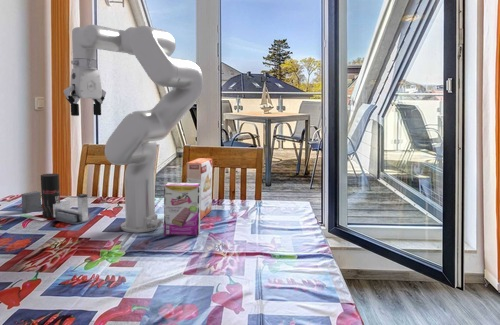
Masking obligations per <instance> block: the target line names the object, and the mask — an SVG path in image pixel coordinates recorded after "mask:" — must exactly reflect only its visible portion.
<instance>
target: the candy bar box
mask: <svg viewBox="0 0 500 325" xmlns="http://www.w3.org/2000/svg"><path fill="white" fill-rule="evenodd" d="M163 190H164V193H163V196H164V198H163V201H164V202H163V203H164V204H163V208H164V209H163V216H164V217H163V235H164V236H180V235H186V237H187V236H190V237H193V235H200V233H201V220H200V197H201V184H200V183H187V182H166V183H165V184H164V185H163Z"/></svg>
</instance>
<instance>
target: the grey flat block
mask: <svg viewBox="0 0 500 325" xmlns="http://www.w3.org/2000/svg"><path fill="white" fill-rule="evenodd" d="M20 195H21V196H20V197H21V211H22V213H23V214H30V213H34V212H39V211H42V193H41V191H38V190H35V191H29V192H25V193H21V194H20Z"/></svg>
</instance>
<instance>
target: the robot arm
mask: <svg viewBox="0 0 500 325" xmlns="http://www.w3.org/2000/svg"><path fill="white" fill-rule="evenodd" d="M71 43H72V44H71V45H72V47H71V48H72V60H70V63H71V65H72V67H73V68H71V74H70V86H68V87H67V88H65V89H63V94H64V96H65V99H66V100H67V101H68V104H70V115H71V116H72V117H73V116H74V117H79V116H80V105H79V103H78V102H79V101H80V99H91V100H92V101H93V109H92V110H93V115H94V116H101V115H102V104H103V101H105V97H106V94H107V92H106V91H105V90H104V89H102V81H101V74H100V70H98V69H97V50H102V51H107V52H108V51H109V52H115V53H122V54H128V55H130V56H134V57H135V58H136V59H137V62H139V64H140V65H141V67H142V69H143V70H144V72H145V73H146V75H147V77H149V79H150V80H151V81H152V82H153V83H154V84H155V85H157V86H158V87H160V86H161V87H162V88H163V87H165V88H172V89H171V90H169V91H168V92H167V93H165V95H163V96H162V97H161V98H160V100H159V101H158V102H157V103H156V104H155V106H154V107H152V108H151V109H148V110H136V111H132V112H130V113H128V114H127V115H126V116H124V117H123V119H122V120H121V122H120V123H118V125H117V126H116V128H115V129H114V131H113V132H112V133H111V135H110V136H109V137H108V139H107V141H106V143H105V145H104V146H105V147H104V156H105V158H106V159H107V161H108V163H110V164H112V165H114V166H126V168H125V172H124V204H125V206H124V207H125V212H124V213H125V221H124V222H122V223H121V224H120V229H121V230H122V231H124V232H126V233H133V234H134V233H135V234H136V233H137V234H139V233H148V232H152V231H155V230H158V229H159V228H160V227H162V224H164V219H159V218H158V214H157V213H156V210H155V209H156V207H155V206H156V205H155V204H156V203H155V197H156V196H155V195H156V193H155V192H156V190H155V180H156V179H155V169H156V168H155V166H156V160H157V154H158V144H157V141H161V140H164V139H166V137H167V136H168V135H169V134H171V132H172V131H173V130H174V128H175V127H176V126H177V125H178V124H179V123H180V122H181V120H182V119H183V117H184V116H185V115H186V114H187V113H188V112H189V110H190V109H192V107H194V105H195V104H196V102H197V101H198V99H200V97H201V95H202V92H203V87H204V76H203V72H202V70H201V68H200V66H199V65H198V64H196V63H195V62H194V61H191V60H188V59H184V58H178V57H172V55H173V54H174V53H175V50H176V47H177V46H176V41H175V38H174V37H173V35H172V34H171V33H169V32H168V31H166V30H163V29H162V28H161V29H159V28H157V27H152V26H148V25H147V26H146V25H140V26H137V27H136V26H135V27H133V26H131V27H128V28H126V29H124V30H122V29H117V28H111V27H108V26H101V25H98V24H88V25H86V26H85V25H84V27H83V26H82V27H81V26H79V27H78V26H77V27H73V29H72V30H71Z"/></svg>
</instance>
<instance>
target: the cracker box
mask: <svg viewBox="0 0 500 325" xmlns="http://www.w3.org/2000/svg"><path fill="white" fill-rule="evenodd" d="M213 161H214V160H213V158H206V157H203V158H201V157H199V158H198V157H197V158H196V159H192V160H191V161H187V162H186V183H200V184H201V197H200V221H201V220H203V219H204V218H205V217H207V215H208V214H210V213H211V212H210V211H212V203H213V202H212V194H213V163H214V162H213ZM204 216H205V217H204ZM203 217H204V218H203Z"/></svg>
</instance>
